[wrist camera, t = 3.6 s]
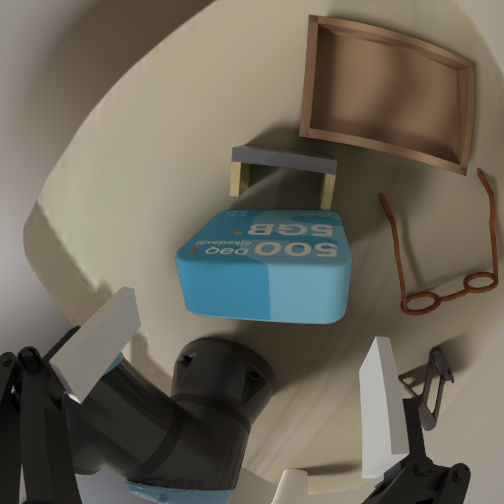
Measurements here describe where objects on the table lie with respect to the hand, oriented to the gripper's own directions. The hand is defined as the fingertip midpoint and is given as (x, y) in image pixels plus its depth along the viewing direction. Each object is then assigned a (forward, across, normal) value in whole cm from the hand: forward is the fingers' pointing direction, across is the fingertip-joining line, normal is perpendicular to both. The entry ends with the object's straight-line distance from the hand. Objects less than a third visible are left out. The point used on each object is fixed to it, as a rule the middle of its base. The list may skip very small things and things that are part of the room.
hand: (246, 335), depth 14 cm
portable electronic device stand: (+16, -25, +18) cm, 35 cm away
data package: (+16, 0, 0) cm, 16 cm away
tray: (+16, -9, -15) cm, 24 cm away
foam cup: (+16, -14, +64) cm, 68 cm away
